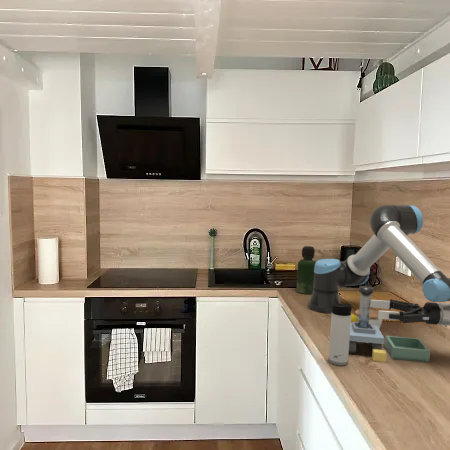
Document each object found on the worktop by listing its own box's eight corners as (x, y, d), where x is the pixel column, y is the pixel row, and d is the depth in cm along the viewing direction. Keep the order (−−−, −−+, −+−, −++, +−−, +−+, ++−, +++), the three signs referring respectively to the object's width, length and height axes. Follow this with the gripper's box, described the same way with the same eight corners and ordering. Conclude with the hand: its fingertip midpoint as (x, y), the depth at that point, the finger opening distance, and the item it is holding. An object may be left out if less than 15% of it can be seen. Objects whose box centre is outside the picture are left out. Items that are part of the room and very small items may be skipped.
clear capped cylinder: (355, 327, 157) (358, 285, 155) (368, 328, 156) (372, 286, 154) (357, 331, 152) (360, 288, 150) (371, 332, 151) (374, 289, 150)
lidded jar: (386, 335, 169) (388, 312, 168) (361, 336, 167) (363, 313, 166) (373, 326, 180) (374, 304, 179) (349, 327, 178) (350, 305, 177)
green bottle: (303, 295, 226) (306, 248, 224) (292, 290, 236) (295, 245, 233) (319, 293, 230) (322, 248, 228) (308, 289, 240) (310, 245, 237)
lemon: (346, 328, 175) (347, 309, 175) (359, 332, 172) (360, 312, 171) (340, 332, 171) (341, 312, 170) (353, 335, 168) (354, 315, 167)
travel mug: (337, 367, 138) (341, 307, 136) (324, 359, 144) (328, 301, 142) (352, 364, 140) (356, 305, 138) (339, 357, 146) (343, 300, 144)
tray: (384, 345, 158) (385, 335, 158) (419, 349, 156) (419, 338, 156) (392, 358, 146) (392, 347, 146) (429, 362, 144) (430, 351, 144)
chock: (371, 357, 147) (372, 348, 147) (384, 358, 146) (384, 350, 146) (373, 360, 144) (374, 352, 144) (385, 362, 143) (386, 353, 143)
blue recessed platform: (342, 340, 162) (344, 318, 162) (375, 343, 161) (377, 321, 160) (346, 354, 149) (348, 330, 148) (382, 358, 147) (384, 334, 146)
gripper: (449, 336, 137) (380, 330, 140) (425, 313, 161) (367, 308, 165) (452, 314, 136) (382, 308, 139) (427, 294, 161) (369, 289, 164)
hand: (374, 308), depth 152 cm, fingers open, 13 cm apart
